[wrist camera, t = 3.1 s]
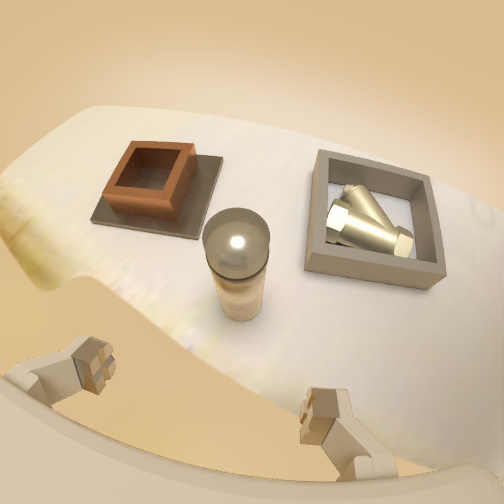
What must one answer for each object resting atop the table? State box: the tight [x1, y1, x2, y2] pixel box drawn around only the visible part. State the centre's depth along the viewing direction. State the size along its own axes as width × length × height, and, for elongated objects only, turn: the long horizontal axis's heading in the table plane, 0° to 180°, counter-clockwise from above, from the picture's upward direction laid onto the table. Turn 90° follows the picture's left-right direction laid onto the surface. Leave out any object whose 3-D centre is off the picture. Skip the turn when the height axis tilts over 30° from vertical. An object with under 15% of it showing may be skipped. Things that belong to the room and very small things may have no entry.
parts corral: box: [304, 149, 447, 290], centre depth 25 cm, size 12×12×4 cm
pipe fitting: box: [326, 184, 413, 258], centre depth 25 cm, size 8×4×7 cm
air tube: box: [202, 208, 270, 322], centre depth 19 cm, size 3×3×11 cm
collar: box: [90, 141, 223, 240], centre depth 27 cm, size 12×10×4 cm
